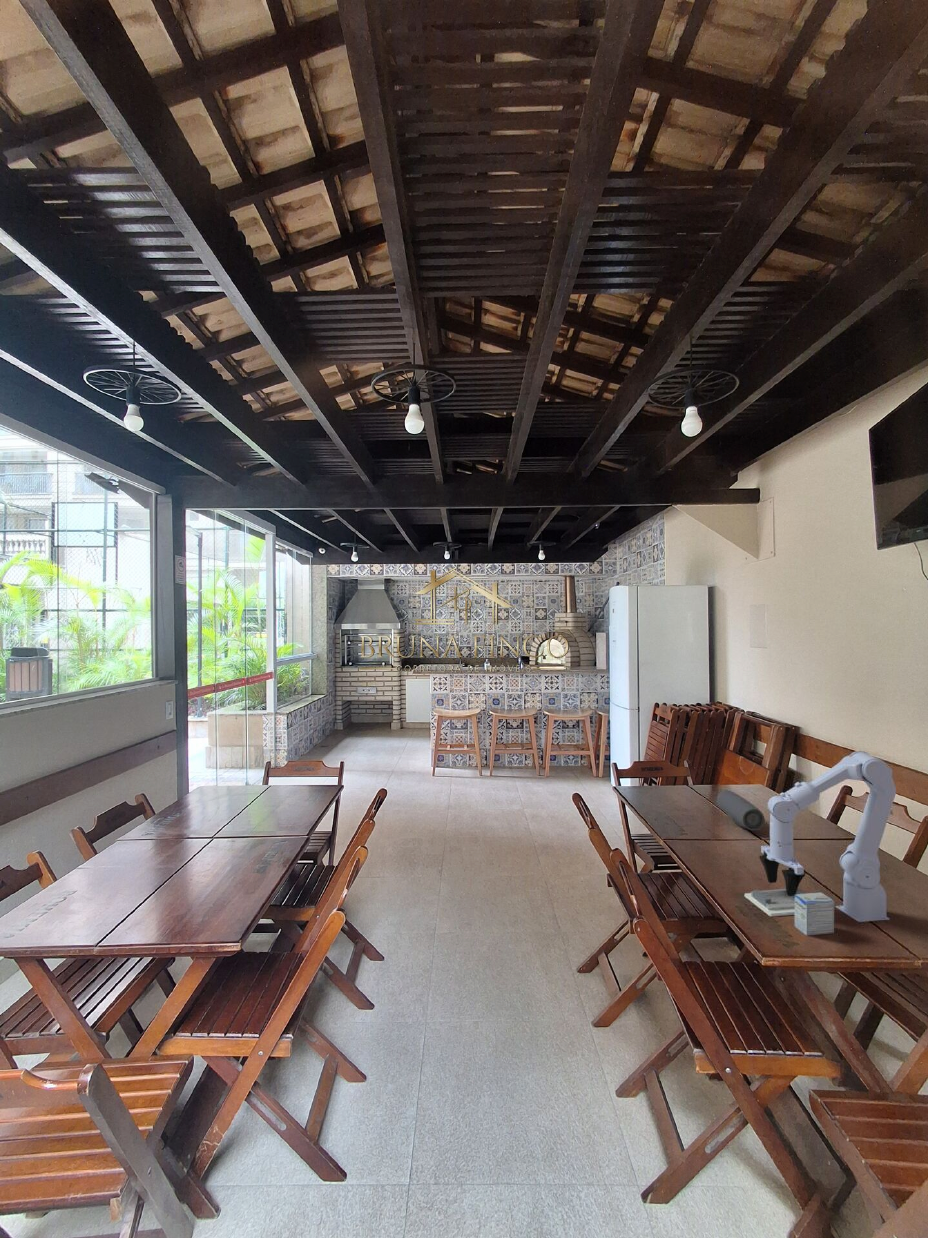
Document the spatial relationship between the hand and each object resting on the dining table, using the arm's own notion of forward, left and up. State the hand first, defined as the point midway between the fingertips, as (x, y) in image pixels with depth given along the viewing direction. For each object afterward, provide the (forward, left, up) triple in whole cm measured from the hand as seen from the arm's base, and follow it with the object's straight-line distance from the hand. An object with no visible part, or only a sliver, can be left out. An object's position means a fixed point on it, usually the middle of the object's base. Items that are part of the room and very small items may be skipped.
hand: (781, 888), depth 156 cm
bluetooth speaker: (-28, -59, -5) cm, 65 cm away
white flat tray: (0, 0, -4) cm, 4 cm away
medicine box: (+1, +13, -5) cm, 14 cm away
